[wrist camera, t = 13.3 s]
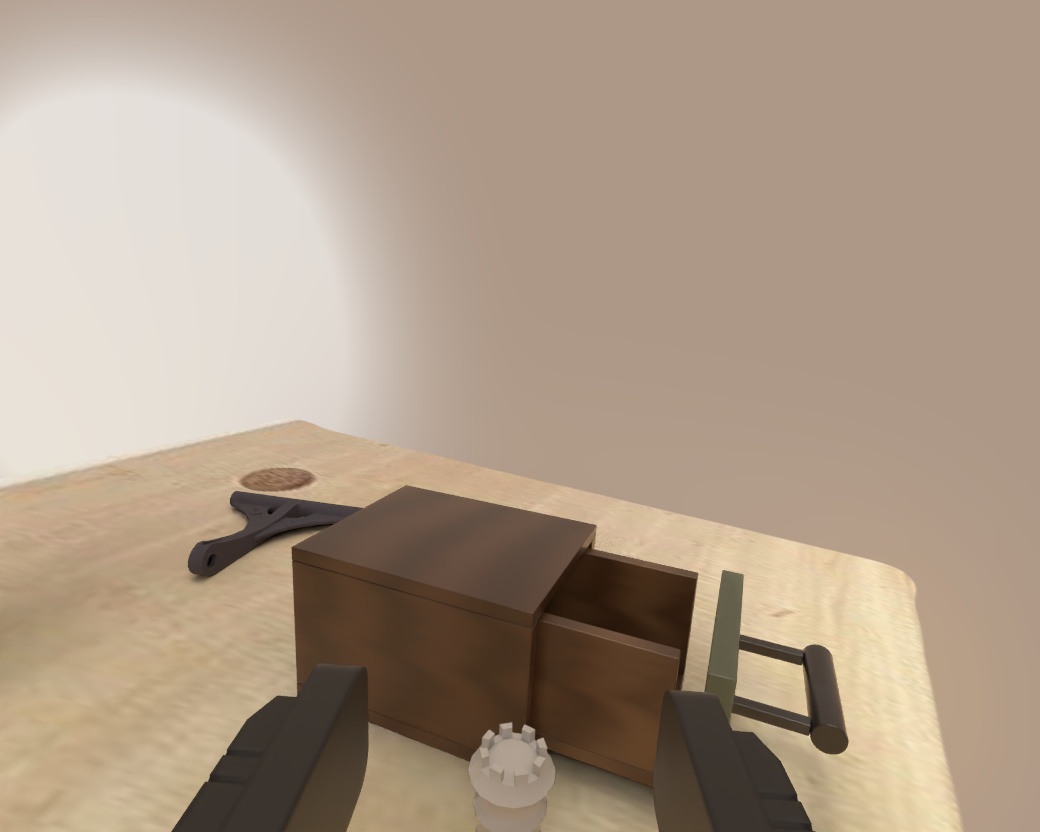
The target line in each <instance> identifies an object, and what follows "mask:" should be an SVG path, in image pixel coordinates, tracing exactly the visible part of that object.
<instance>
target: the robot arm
mask: <svg viewBox="0 0 1040 832" xmlns="http://www.w3.org/2000/svg"><path fill="white" fill-rule="evenodd" d="M367 758H368V674H367V669H366V667H364V666H350V665H337V664H323V663H319V664H317V665H316V666H315V667H314V669H313V670H312V672H311V674H310V675H309V677H308V679H307V680H306V682H305V684H304V685H303V687H302V689H301V690H300V692H299V694H298V695H297V697H288V696H276V697H275V698H274V699H273V700H271V701H270V702H269V703H267V704H266V705H265V706H264V707H262V708H261V709H260V710H259V711H257V712H256V713H255V714H254V715H252V716H251V717H250V718H249V719H247V721H246V722H245V724H244V725H243V727H242V728H241V730H240V731H239V733H238V734H237V736H236V737H235V738H234V740H233V741H232V743H231V744H230V746H229V747H228V749H227V753H226V755H223V756H222V758H221V759H220V761H219V762H218V764H217V765H216V767H215V768H214V770H213V771H212V772H211V774H210V778H209V781H208V782H205V783H204V784H203V786H202V787H201V789H200V790H199V792H198V793H197V795H196V796H195V798H194V799H193V801H192V802H191V804H190V805H189V806H188V808H187V809H186V811H185V812H184V814H183V815H182V817H181V818H180V820H179V821H178V823H177V824H176V826H175V827H174V829H173V830H172V832H346V831H347V828H348V825H349V823H350V820H351V817H352V814H353V811H354V809H355V806H356V803H357V800H358V797H359V795H360V792H361V788H362V785H363V781H364V776H365V771H366V765H367ZM653 787H654V804H655V812H656V818H657V823H658V828H659V832H815V831H812V826H811V822H810V820H809V818H808V816H807V814H806V812H805V810H804V808H803V806H802V803H801V802H798V799H797V793H796V791H795V789H794V787H793V785H792V783H791V781H790V779H789V777H788V775H787V773H786V771H785V769H784V767H783V765H782V763H781V761H780V760H779V759H778V758H777V757H776V756H775V755H774V754H773V753H772V752H771V751H770V750H769V749H768V748H767V746H766V745H765V744H764V743H763V742H762V741H761V740H760V739H759V738H758V737H757V736H756V735H755V734H754V733H753V732H740V731H732V729H731V726H730V724H729V722H728V719H727V717H726V714H725V712H724V710H723V707H722V705H721V702H720V700H719V698H718V697H717V695H716V694H715V693H705V692H692V691H678V690H666V692H665V694H664V697H663V703H662V711H661V719H660V727H659V734H658V742H657V750H656V758H655V766H654V780H653Z"/></svg>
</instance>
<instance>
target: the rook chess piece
mask: <svg viewBox="0 0 1040 832" xmlns="http://www.w3.org/2000/svg"><path fill="white" fill-rule="evenodd" d="M494 736H495V733H493V732H492V731H491V730H488V731H487V733H486V734H485V735H484V736H483V737H482V745H481V746H480V747H479V748H478V750H477V751H476V752H475V753H474V754H473V755H472V758H471V761H470V765H469V768H468V771H469V776H470V781H471V784H472V786H473V787H474V788H475V790H476V792H475V796H474V800H473V806H474V811H475V816H476V817H477V818H478V819H477V828H476V832H541V829H540V823H541V822H542V820H543V818H544V817H545V815H546V807H547V800H546V798H545V797H546V796H547V794H548V792H549V791H550V789H551V788H552V786H553V785H554V781H555V771H556V769H555V766H554V764H553V761H552V759H551V756H550V755H549V754H548V753H547V746H546V743H545V741H544V738H541V739H538V740H537V741H536V740H535V729H533V728H531V727H529V726H527V725H525V724H524V726H523V728H522V734H519V733H513V732H512V722H511V723H504V724H500V728H499V734H498V735H496V736H495V737H494Z"/></svg>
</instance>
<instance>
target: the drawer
mask: <svg viewBox="0 0 1040 832" xmlns="http://www.w3.org/2000/svg"><path fill="white" fill-rule="evenodd" d="M743 578H744V575H743V574H739V573H734V572H730V571H725V570H723V571H722V577H721V584H720V590H719V597H718V604H717V611H716V618H715V624H714V631H713V638H712V645H711V652H710V658H709V665H708V672H707V679H706V686H705V693H715V694H716V695H717V697H718V698H719V700H720V702H721V705H722V707H723V710H724V712H725V714H726V717H727V719H728V722H729V724H730V719H731V713H734V714H738V715H741V716H744V717H748V718H751V719H754V720H758V721H761V722H764V723H768V724H771V725H774V726H777V727H781V728H784V729H787V730H791V731H794V732H797V733H801V734H804V735H807V736H809V734H810V737H811V741H812V743H813V744H814V745H815V747H816V748H817V749H819V750H820V751H822V752H824V753H827V754H840V753H842V752H844V751H845V750H846V748H847V746H848V737H847V731H846V726H845V721H844V716H843V710H842V705H841V700H840V695H839V690H838V684H837V679H836V674H835V669H834V663H833V658H832V655H831V653H830V652H829V650H827V649H826V648H825V647H823V646H820V645H809V646H807V647H806V648H805V649H804V650H803V651H802V650H799V649H795V648H791V647H787V646H783V645H779V644H775V643H771V642H768V641H764V640H760V639H756V638H752V637H748V636H744V635H740V623H741V608H742V593H743ZM697 580H698V573H696V572H692V571H688V570H683V569H679V568H674V567H670V566H665V565H661V564H656V563H652V562H648V561H643V560H639V559H634V558H630V557H625V556H621V555H616V554H612V553H607V552H603V551H599V550H594V549H590V548H587V549H586V550H585V552H584V553H583V555H582V556H581V558H580V559H579V560H578V562H577V563H576V565H575V566H574V568H573V569H572V571H571V572H570V574H569V575H568V576H567V578H566V579H565V581H564V582H563V584H562V585H561V587H560V588H559V590H558V591H557V592H556V594H555V595H554V597H553V598H552V600H551V601H550V603H549V604H548V606H547V607H546V608H545V610H544V611H543V613H542V614H541V616H540V617H539V619H538V620H537V634H536V649H535V664H534V678H533V693H532V708H531V722H530V727H531V728H533V729H535V740H536V741H537V740H538V739H541V738H544V741H545V743H546V746H547V749H549V750H552V751H555V752H557V753H560V754H563V755H566V756H568V757H571V758H574V759H577V760H579V761H582V762H585V763H588V764H590V765H593V766H596V767H599V768H601V769H604V770H607V771H610V772H612V773H615V774H618V775H621V776H623V777H626V778H629V779H632V780H635V781H637V782H640V783H643V784H646V785H648V786H651V787H653V780H654V766H655V758H656V750H657V742H658V734H659V727H660V719H661V711H662V703H663V697H664V694H665V692H666V690H678V691H682V686H683V681H684V675H685V668H686V660H687V653H688V646H689V638H690V631H691V624H692V616H693V609H694V602H695V594H696V587H697ZM739 649H741V650H744V651H748V652H752V653H756V654H760V655H763V656H767V657H771V658H775V659H779V660H782V661H786V662H790V663H794V664H797V665H802V663H803V672H804V682H805V691H806V700H807V709H808V717H807V716H804V715H800V714H797V713H793V712H790V711H787V710H783V709H780V708H776V707H773V706H769V705H766V704H763V703H759V702H756V701H752V700H749V699H745V698H742V697H739V696H735V688H736V682H737V668H738V653H739Z"/></svg>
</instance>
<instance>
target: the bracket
mask: <svg viewBox="0 0 1040 832" xmlns="http://www.w3.org/2000/svg"><path fill="white" fill-rule="evenodd" d="M230 504H231V506H233V507H235V508H237V509H239V510H240V511H242V512H243V513H244V514H245V515H246V516H247V517H248V520H249V522H248V524H247V526H246V527H245V528H244V530H242V531H240V532H237V533H235V534H233V535H229V536H225V537H222V538H218V539H214V540H210V541H201V542H199V543H197V544H196V545H195V547H194V548H193V550H192V551H191V554H190V556H189V560H188V568H189V570H190V572H191V573H193V574H198V575H204V576H211V575H214V574H215V573H217V572H219V571H220V570H222V569H223V568H225V567H226V566H228V565H229V564H231V563H232V562H234V561H235V560H237V559H238V558H240V557H241V556H243V555H244V554H246V553H247V552H249V551H250V550H252V549H253V548H255V547H256V546H258V545H259V544H261V543H263V542H264V541H266V540H267V539H269V538H270V537H272V536H273V535H275V534H276V533H279V532H283V531H286V530H290V529H294V528H300V527H306V526H312V525H321V524H333V523H337V522H339V521H341V520H343V519H345V518H347V517H348V516H350V515H352V514H354V513H356V512H358V511H360V510H361V509H363V508H358V507H351V506H343V505H336V504H328V503H321V502H313V501H306V500H299V499H291V498H284V497H276V496H269V495H261V494H254V493H247V492H240V491H235V492H234V493H233V494H232V495H231V498H230ZM268 512H273V513H272V514H271V515H270V514H268Z"/></svg>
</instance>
